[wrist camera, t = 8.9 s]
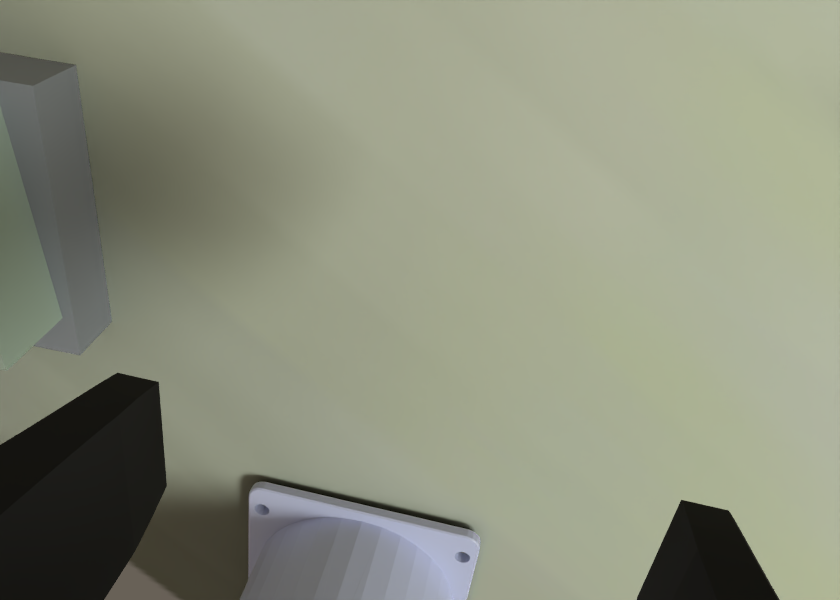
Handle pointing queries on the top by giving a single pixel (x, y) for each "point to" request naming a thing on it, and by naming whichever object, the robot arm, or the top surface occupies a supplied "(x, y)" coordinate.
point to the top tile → (20, 266)
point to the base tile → (58, 191)
